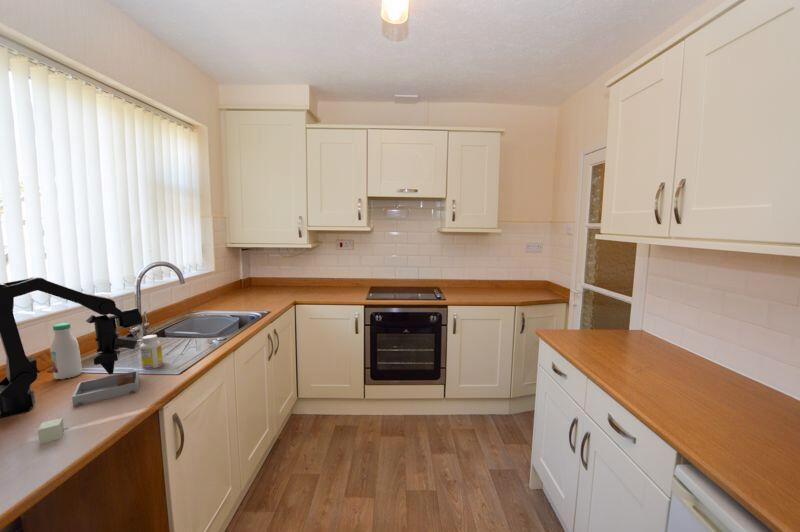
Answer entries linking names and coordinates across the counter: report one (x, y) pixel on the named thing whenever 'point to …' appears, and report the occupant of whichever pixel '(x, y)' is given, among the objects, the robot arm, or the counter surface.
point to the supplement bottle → (151, 352)
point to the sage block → (50, 430)
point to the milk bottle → (65, 353)
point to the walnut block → (124, 379)
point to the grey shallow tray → (103, 389)
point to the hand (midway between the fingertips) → (111, 373)
